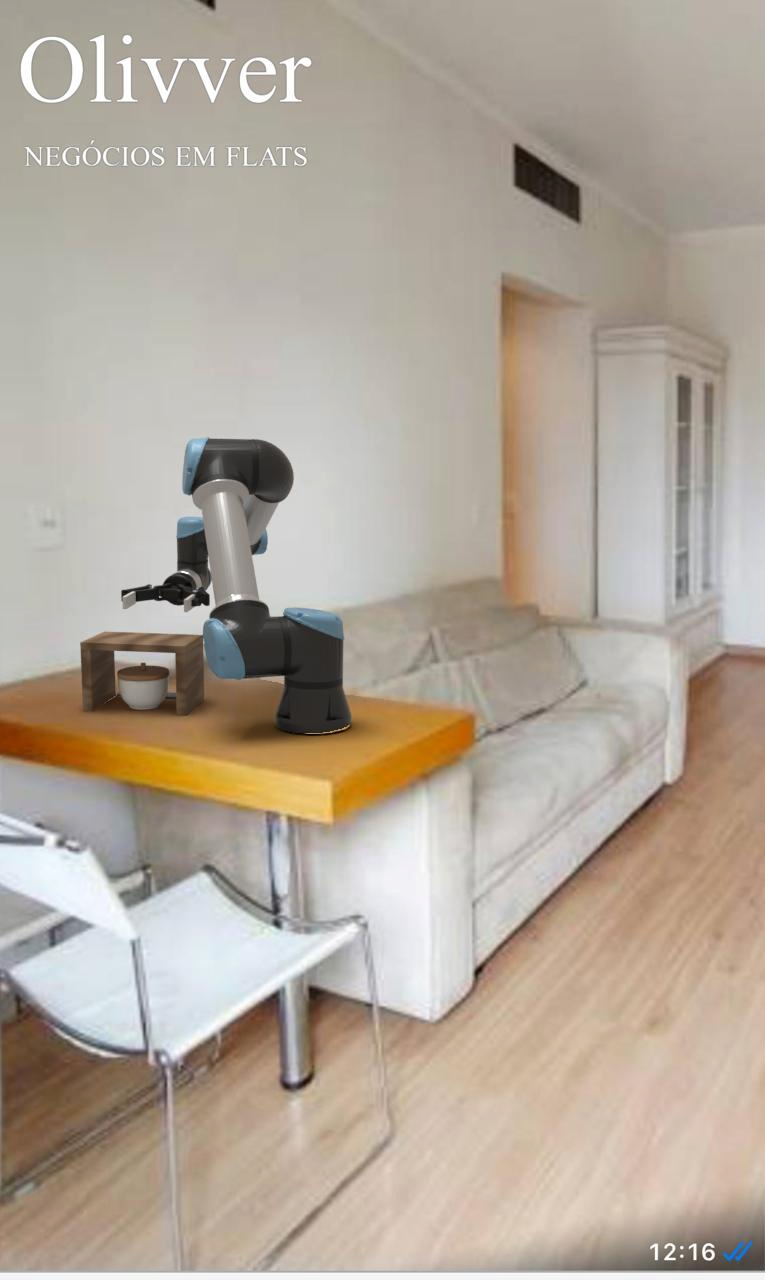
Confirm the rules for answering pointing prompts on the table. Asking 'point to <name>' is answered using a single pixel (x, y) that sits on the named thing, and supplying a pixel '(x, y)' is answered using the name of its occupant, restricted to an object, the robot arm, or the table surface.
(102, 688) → the tunnel
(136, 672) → the lidded jar
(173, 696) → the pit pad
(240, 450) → the robot arm
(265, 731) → the table surface
